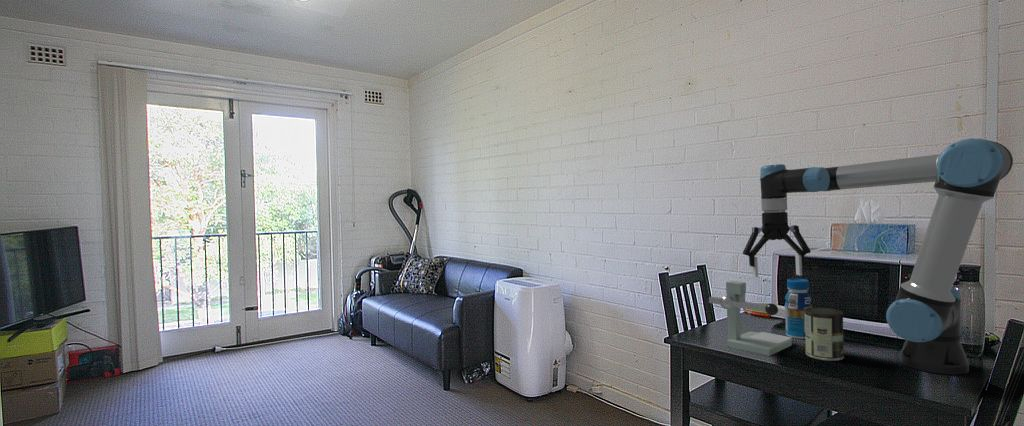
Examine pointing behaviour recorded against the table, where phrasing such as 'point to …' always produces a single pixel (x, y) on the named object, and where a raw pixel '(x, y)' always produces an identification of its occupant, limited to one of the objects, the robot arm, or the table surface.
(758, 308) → the lever
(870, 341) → the table surface
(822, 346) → the coffee can
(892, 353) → the table surface
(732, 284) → the stand
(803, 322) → the beverage bottle
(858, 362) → the table surface
